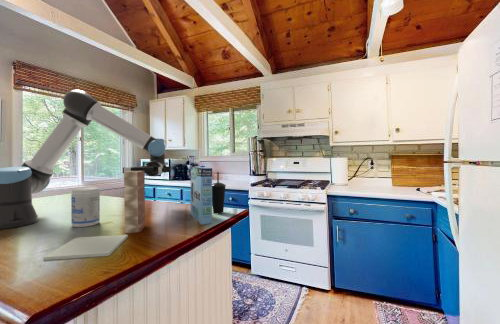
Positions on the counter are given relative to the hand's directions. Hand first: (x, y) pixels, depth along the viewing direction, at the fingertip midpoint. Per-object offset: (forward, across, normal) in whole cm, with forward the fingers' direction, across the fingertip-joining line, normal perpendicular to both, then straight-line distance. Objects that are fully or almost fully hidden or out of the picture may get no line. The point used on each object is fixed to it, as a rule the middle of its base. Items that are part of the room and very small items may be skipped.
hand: (142, 170), depth 101 cm
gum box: (-1, -24, -22) cm, 32 cm away
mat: (+27, +8, -22) cm, 35 cm away
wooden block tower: (+10, 0, -22) cm, 24 cm away
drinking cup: (-11, -32, -22) cm, 40 cm away
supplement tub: (-1, +22, -22) cm, 31 cm away
